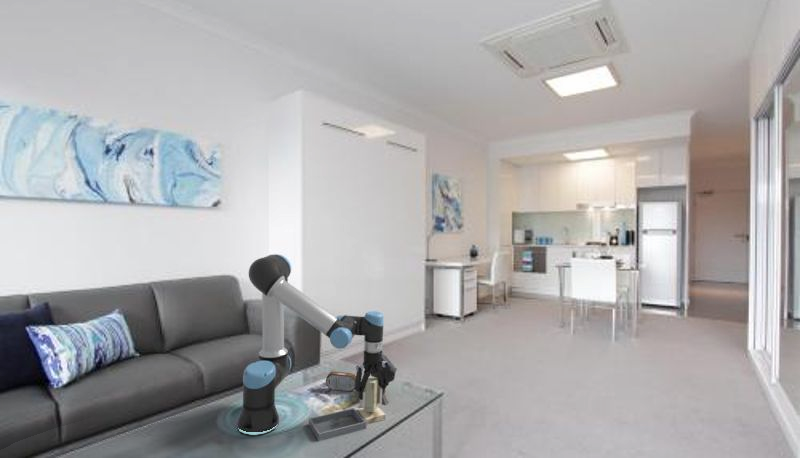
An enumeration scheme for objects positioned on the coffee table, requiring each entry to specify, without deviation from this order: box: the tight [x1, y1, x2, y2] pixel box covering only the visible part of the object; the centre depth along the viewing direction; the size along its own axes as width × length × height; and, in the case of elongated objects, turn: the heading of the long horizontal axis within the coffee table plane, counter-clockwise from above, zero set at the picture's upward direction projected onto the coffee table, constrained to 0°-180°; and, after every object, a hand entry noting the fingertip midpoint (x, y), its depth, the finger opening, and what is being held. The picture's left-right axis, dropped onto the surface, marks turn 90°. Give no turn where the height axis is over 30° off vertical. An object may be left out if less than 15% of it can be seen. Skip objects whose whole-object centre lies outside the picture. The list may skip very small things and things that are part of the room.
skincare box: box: [364, 375, 379, 412], centre depth 167 cm, size 6×4×12 cm
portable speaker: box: [325, 371, 356, 393], centre depth 190 cm, size 15×3×8 cm, turn 84°
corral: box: [308, 407, 367, 442], centre depth 159 cm, size 19×12×2 cm, turn 120°
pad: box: [355, 406, 386, 425], centre depth 168 cm, size 9×9×2 cm
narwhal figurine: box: [370, 354, 398, 406], centre depth 187 cm, size 14×15×18 cm
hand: (371, 404), depth 168 cm, fingers closed on skincare box, 7 cm apart
